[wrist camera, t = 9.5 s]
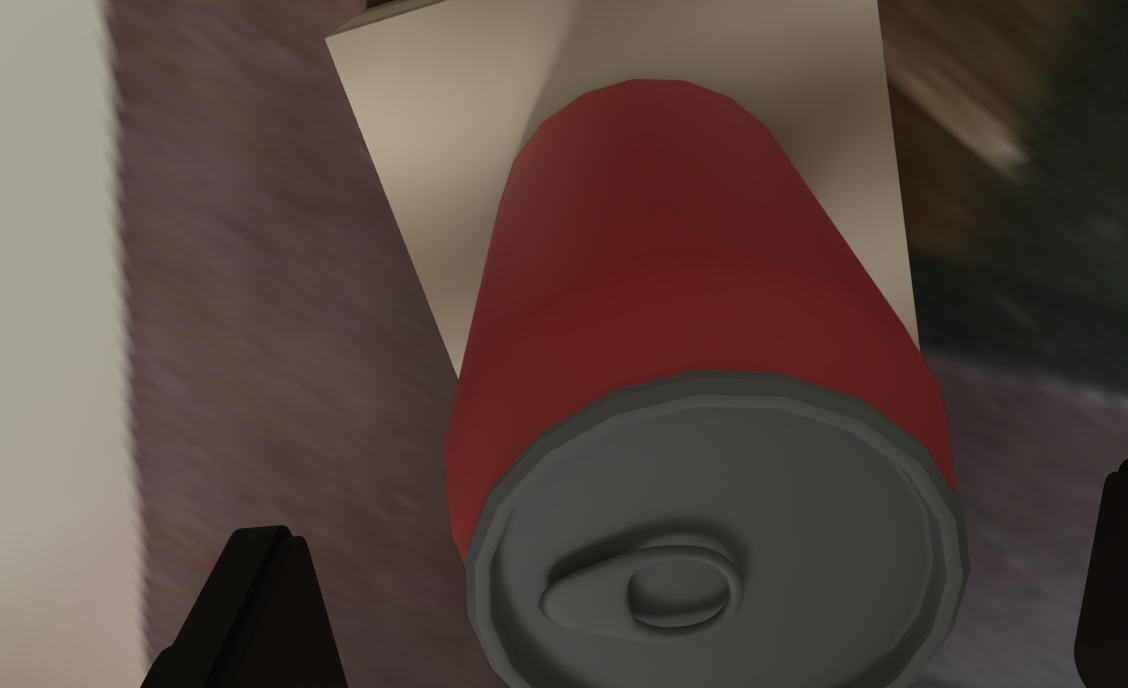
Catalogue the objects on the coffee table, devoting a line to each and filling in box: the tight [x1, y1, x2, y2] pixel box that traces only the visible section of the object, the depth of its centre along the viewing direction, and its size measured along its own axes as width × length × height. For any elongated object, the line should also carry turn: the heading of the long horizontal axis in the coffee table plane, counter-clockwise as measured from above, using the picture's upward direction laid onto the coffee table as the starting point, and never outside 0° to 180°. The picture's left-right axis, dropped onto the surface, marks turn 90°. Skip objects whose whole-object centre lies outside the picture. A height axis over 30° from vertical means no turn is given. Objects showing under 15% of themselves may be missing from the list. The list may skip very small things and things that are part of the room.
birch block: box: [325, 0, 920, 379], centre depth 22 cm, size 11×11×4 cm
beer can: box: [445, 79, 970, 688], centre depth 15 cm, size 7×7×12 cm
